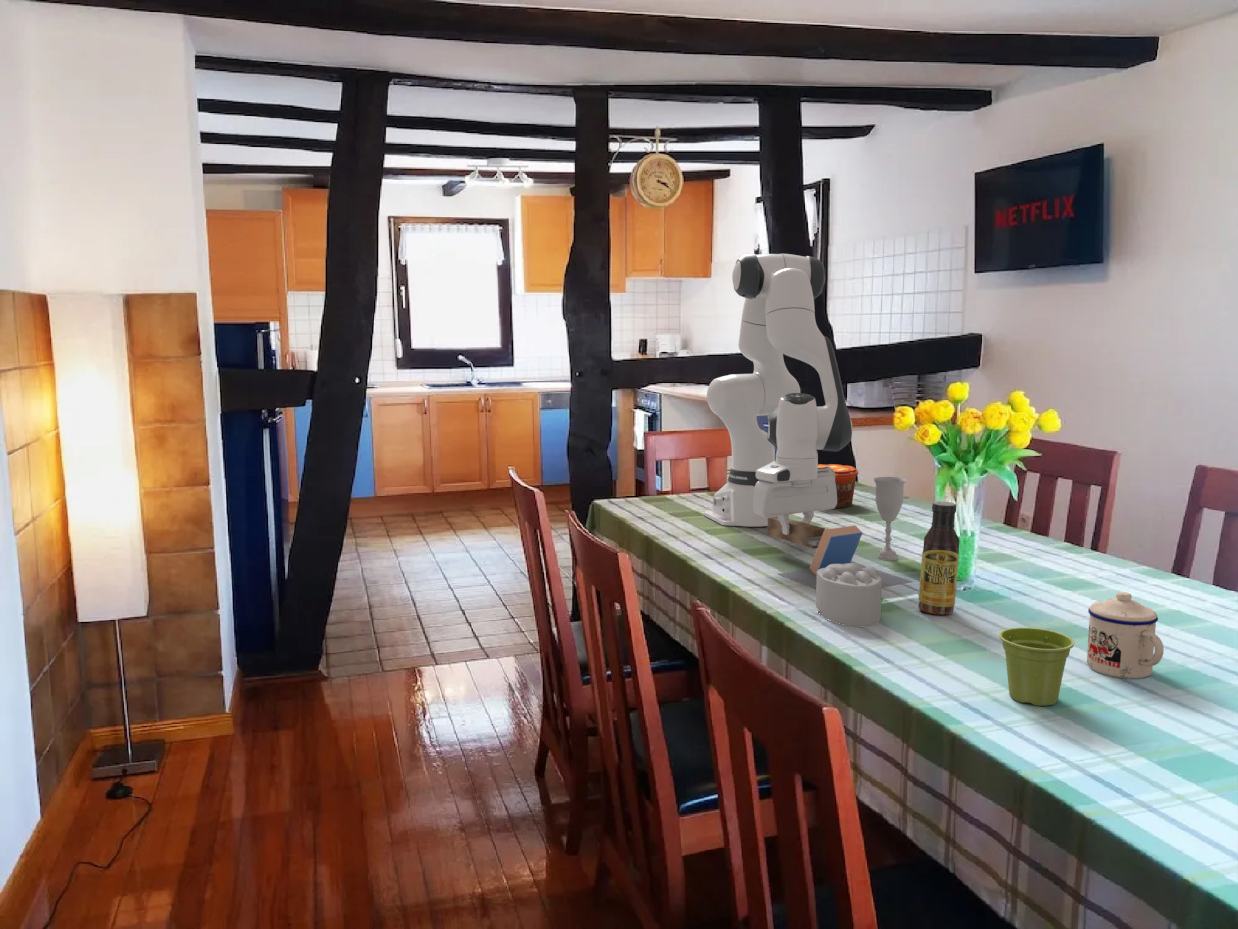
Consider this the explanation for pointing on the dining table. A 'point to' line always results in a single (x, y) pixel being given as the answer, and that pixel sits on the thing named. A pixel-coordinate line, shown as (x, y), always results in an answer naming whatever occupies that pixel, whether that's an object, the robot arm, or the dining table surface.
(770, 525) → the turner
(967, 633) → the dining table surface
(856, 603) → the lumpy-topped squat cylinder
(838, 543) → the tile
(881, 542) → the dining table surface
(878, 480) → the chalice
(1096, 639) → the teacup with lid
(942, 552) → the sauce bottle
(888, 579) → the mat
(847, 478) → the food container
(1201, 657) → the dining table surface
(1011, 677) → the plant pot
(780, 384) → the robot arm
